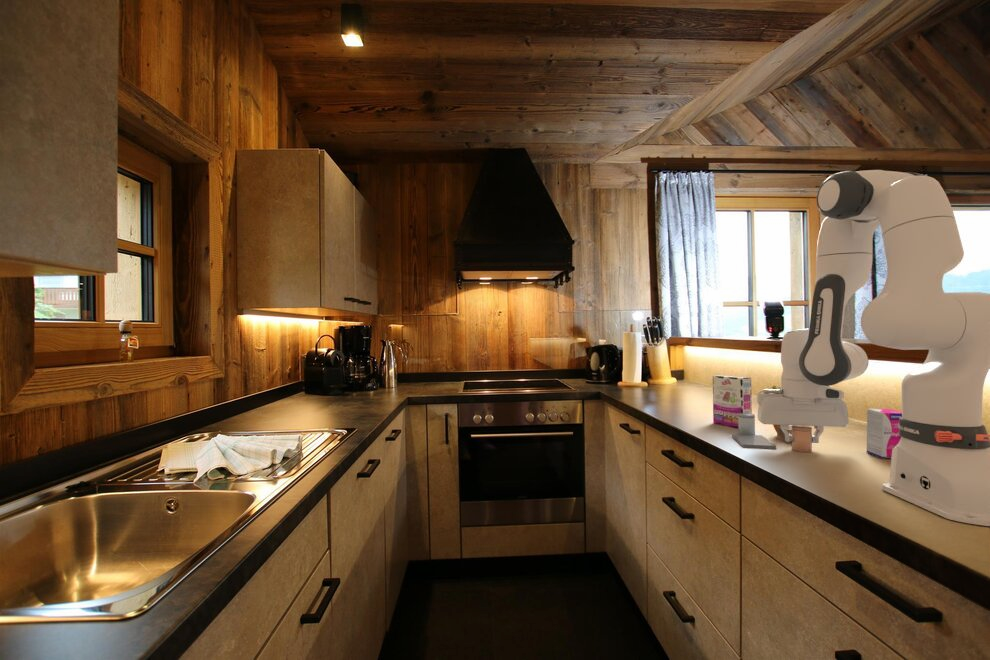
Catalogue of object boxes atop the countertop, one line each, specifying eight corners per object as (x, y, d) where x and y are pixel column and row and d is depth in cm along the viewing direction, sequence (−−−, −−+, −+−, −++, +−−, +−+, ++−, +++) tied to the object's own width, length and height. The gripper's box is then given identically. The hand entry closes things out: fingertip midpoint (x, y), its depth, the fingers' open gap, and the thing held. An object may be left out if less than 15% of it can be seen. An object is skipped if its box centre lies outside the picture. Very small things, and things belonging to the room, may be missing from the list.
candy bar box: (753, 427, 146) (752, 377, 146) (742, 429, 144) (741, 378, 144) (722, 421, 156) (722, 374, 156) (712, 423, 154) (711, 375, 154)
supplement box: (882, 459, 111) (882, 412, 111) (865, 452, 116) (865, 408, 116) (908, 459, 110) (908, 412, 110) (890, 453, 116) (889, 408, 116)
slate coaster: (776, 448, 121) (776, 445, 121) (743, 447, 123) (743, 444, 123) (761, 438, 133) (761, 435, 133) (732, 436, 135) (731, 434, 135)
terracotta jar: (814, 452, 117) (814, 428, 117) (795, 451, 118) (795, 428, 118) (807, 448, 121) (807, 425, 121) (789, 447, 122) (789, 424, 122)
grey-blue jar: (757, 436, 135) (756, 416, 135) (740, 436, 136) (740, 415, 136) (752, 433, 139) (752, 413, 139) (736, 432, 140) (736, 412, 140)
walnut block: (806, 443, 127) (806, 429, 127) (789, 444, 126) (788, 429, 126) (793, 439, 132) (793, 425, 132) (777, 439, 131) (777, 426, 131)
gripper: (760, 390, 119) (761, 443, 119) (851, 392, 114) (852, 447, 114) (753, 387, 125) (754, 437, 125) (839, 388, 120) (839, 440, 120)
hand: (801, 442), depth 120 cm, fingers closed on terracotta jar, 4 cm apart
